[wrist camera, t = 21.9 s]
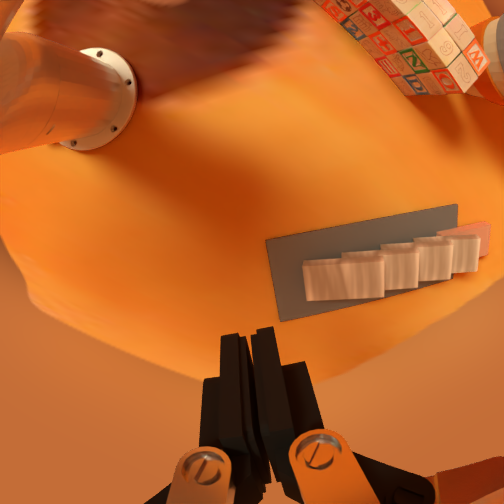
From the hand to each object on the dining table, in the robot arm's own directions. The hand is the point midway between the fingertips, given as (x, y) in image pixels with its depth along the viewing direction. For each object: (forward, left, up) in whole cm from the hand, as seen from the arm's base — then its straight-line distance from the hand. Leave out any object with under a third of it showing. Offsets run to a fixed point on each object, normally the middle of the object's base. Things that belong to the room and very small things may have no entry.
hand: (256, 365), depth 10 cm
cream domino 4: (+22, -13, -28) cm, 38 cm away
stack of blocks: (+19, +19, -30) cm, 40 cm away
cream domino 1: (+6, -13, -28) cm, 31 cm away
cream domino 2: (+11, -13, -28) cm, 33 cm away
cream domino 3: (+17, -13, -28) cm, 35 cm away
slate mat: (+16, -13, -29) cm, 36 cm away
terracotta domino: (+26, -13, -28) cm, 40 cm away
